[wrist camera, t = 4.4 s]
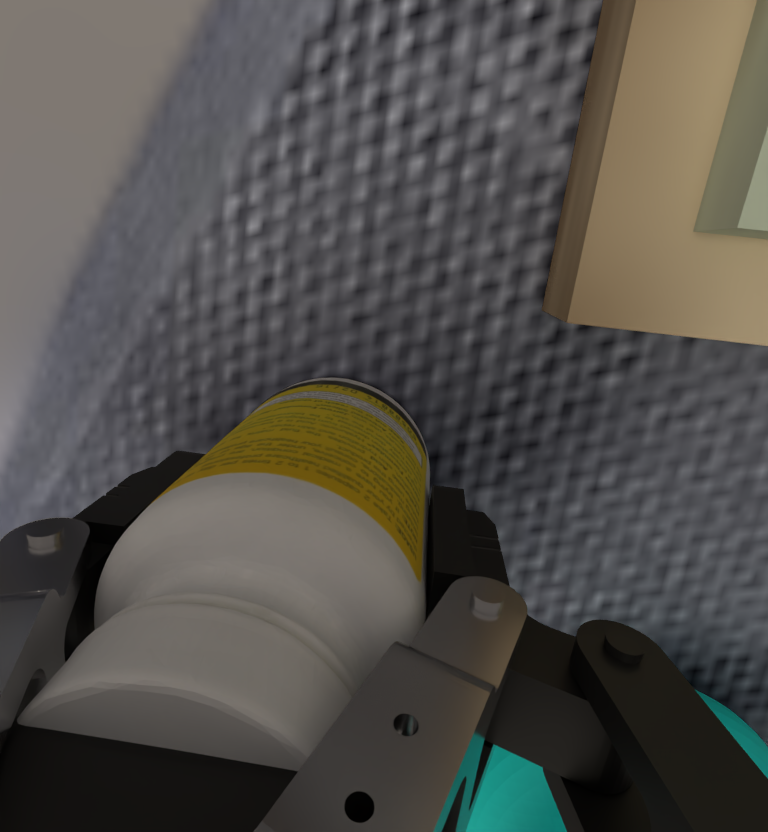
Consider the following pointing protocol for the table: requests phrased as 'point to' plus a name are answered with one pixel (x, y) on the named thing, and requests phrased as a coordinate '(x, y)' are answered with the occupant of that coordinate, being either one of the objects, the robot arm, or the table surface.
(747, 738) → the donuts
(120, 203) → the table surface
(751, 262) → the stacking base
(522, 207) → the table surface
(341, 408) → the supplement bottle
